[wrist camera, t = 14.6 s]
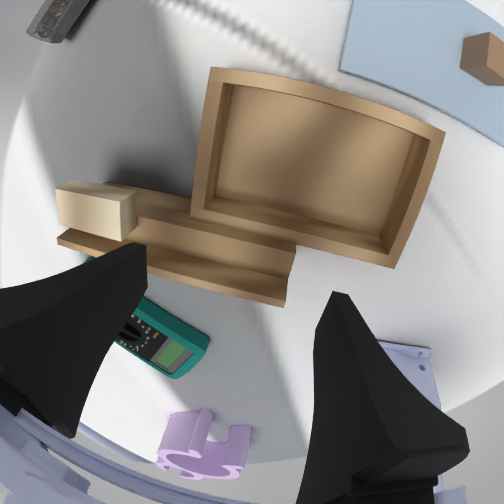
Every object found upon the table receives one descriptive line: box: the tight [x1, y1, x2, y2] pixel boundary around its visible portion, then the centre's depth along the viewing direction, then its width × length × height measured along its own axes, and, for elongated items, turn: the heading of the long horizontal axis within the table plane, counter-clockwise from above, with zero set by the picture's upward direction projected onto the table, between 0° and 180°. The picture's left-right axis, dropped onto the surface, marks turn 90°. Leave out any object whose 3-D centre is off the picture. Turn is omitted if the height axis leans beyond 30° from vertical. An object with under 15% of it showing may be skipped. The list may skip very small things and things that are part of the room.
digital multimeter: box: [83, 257, 210, 379], centre depth 26 cm, size 7×15×3 cm, turn 55°
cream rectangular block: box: [56, 180, 136, 242], centre depth 15 cm, size 5×2×2 cm, turn 80°
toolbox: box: [57, 67, 446, 308], centre depth 15 cm, size 22×11×6 cm, turn 80°
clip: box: [156, 408, 252, 480], centre depth 37 cm, size 20×12×7 cm, turn 149°
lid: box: [338, 0, 504, 147], centre depth 10 cm, size 13×9×5 cm
